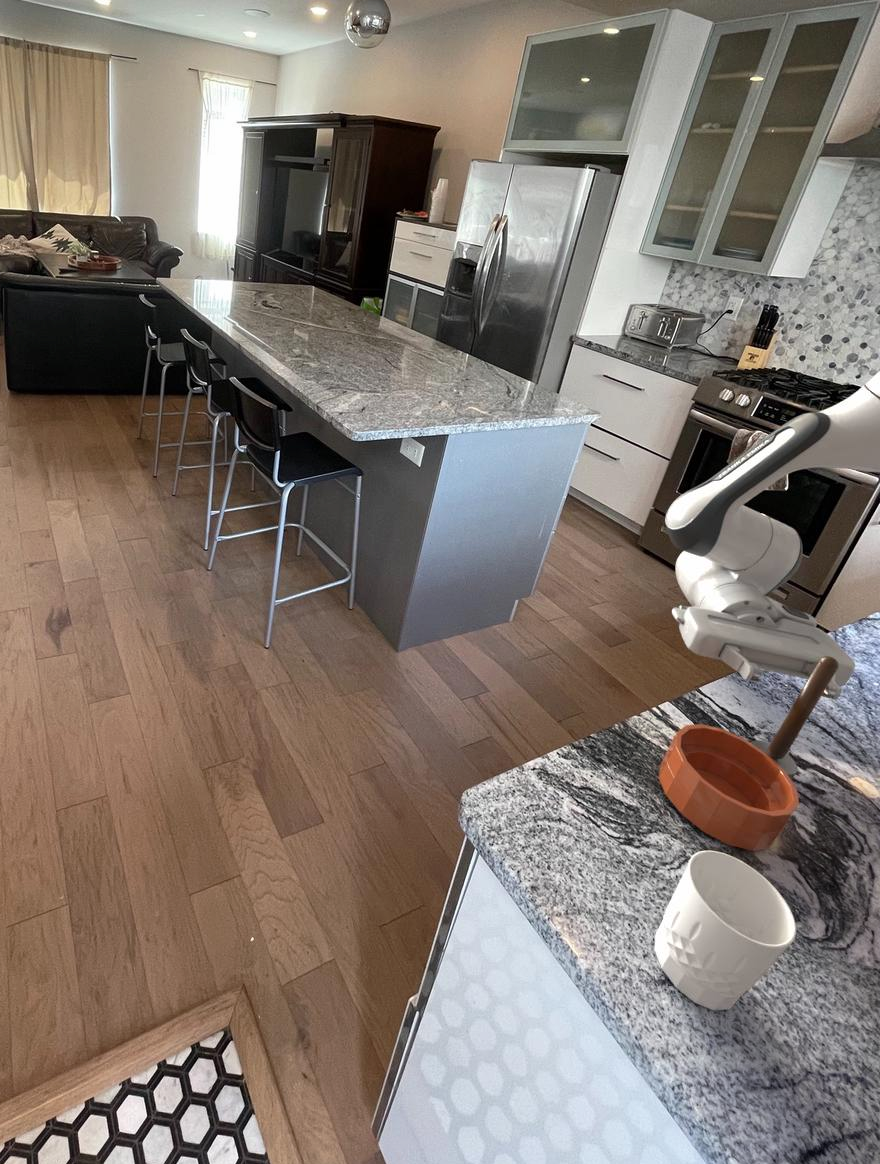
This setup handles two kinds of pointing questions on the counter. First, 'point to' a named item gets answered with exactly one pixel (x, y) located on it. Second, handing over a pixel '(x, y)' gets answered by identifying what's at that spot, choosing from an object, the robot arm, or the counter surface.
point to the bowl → (727, 787)
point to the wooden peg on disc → (799, 715)
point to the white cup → (722, 930)
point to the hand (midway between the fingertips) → (793, 685)
